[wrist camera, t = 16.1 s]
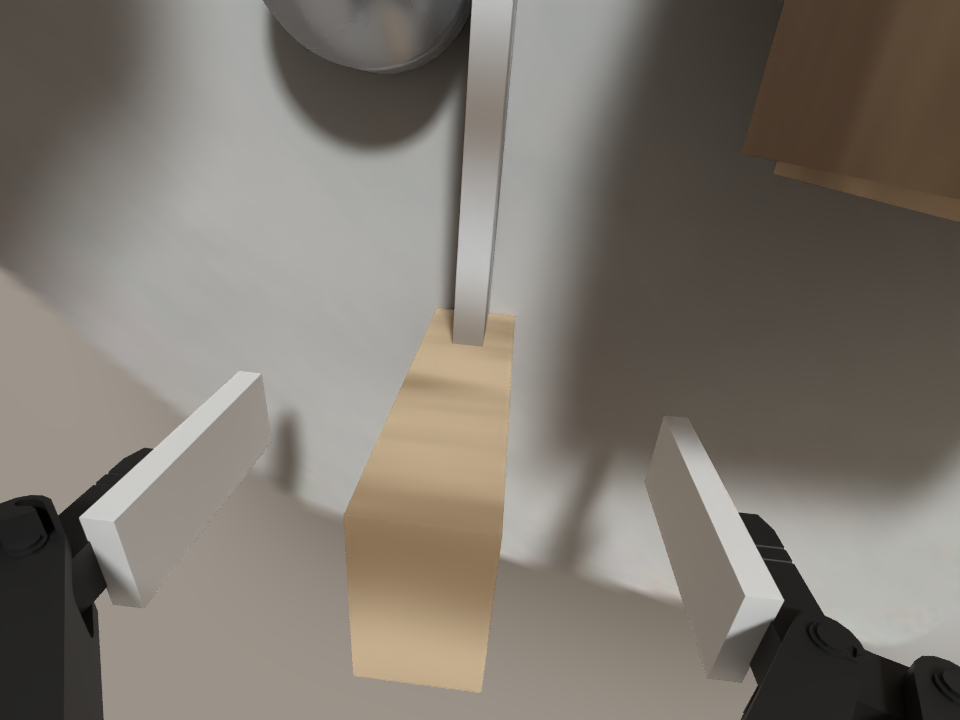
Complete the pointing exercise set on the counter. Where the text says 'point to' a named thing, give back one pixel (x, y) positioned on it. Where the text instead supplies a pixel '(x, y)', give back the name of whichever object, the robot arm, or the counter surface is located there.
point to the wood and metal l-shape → (444, 437)
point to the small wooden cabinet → (865, 100)
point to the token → (373, 30)
